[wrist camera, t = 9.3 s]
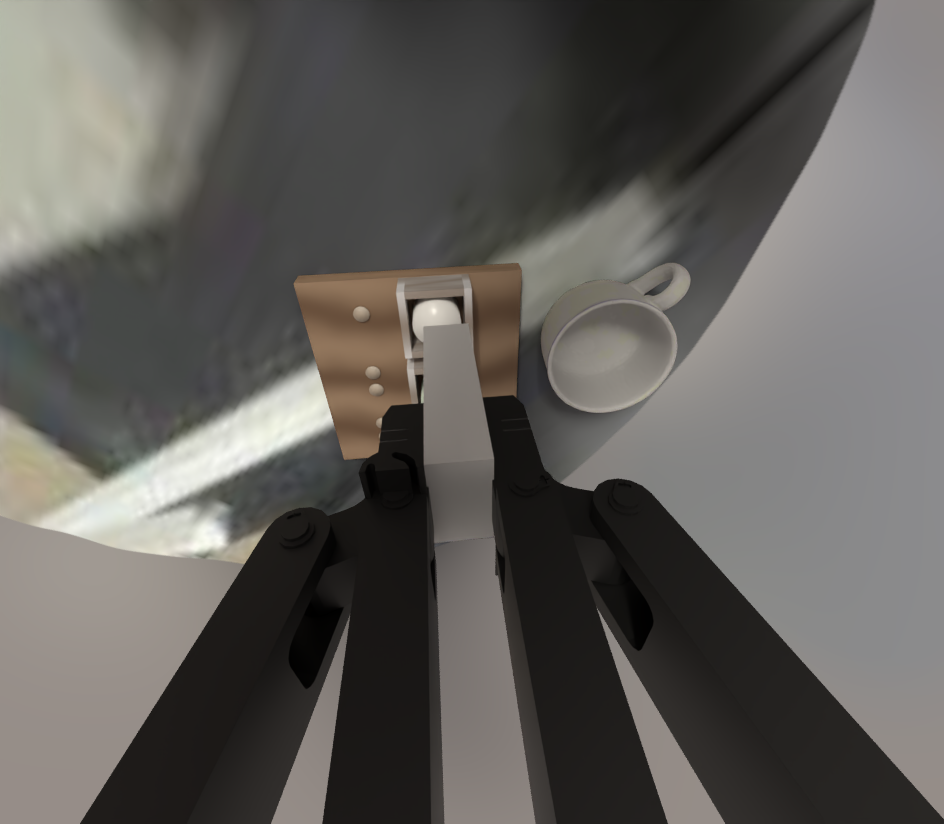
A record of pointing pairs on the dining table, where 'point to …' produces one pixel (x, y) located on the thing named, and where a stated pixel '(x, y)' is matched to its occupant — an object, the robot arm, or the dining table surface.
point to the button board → (402, 338)
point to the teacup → (612, 340)
